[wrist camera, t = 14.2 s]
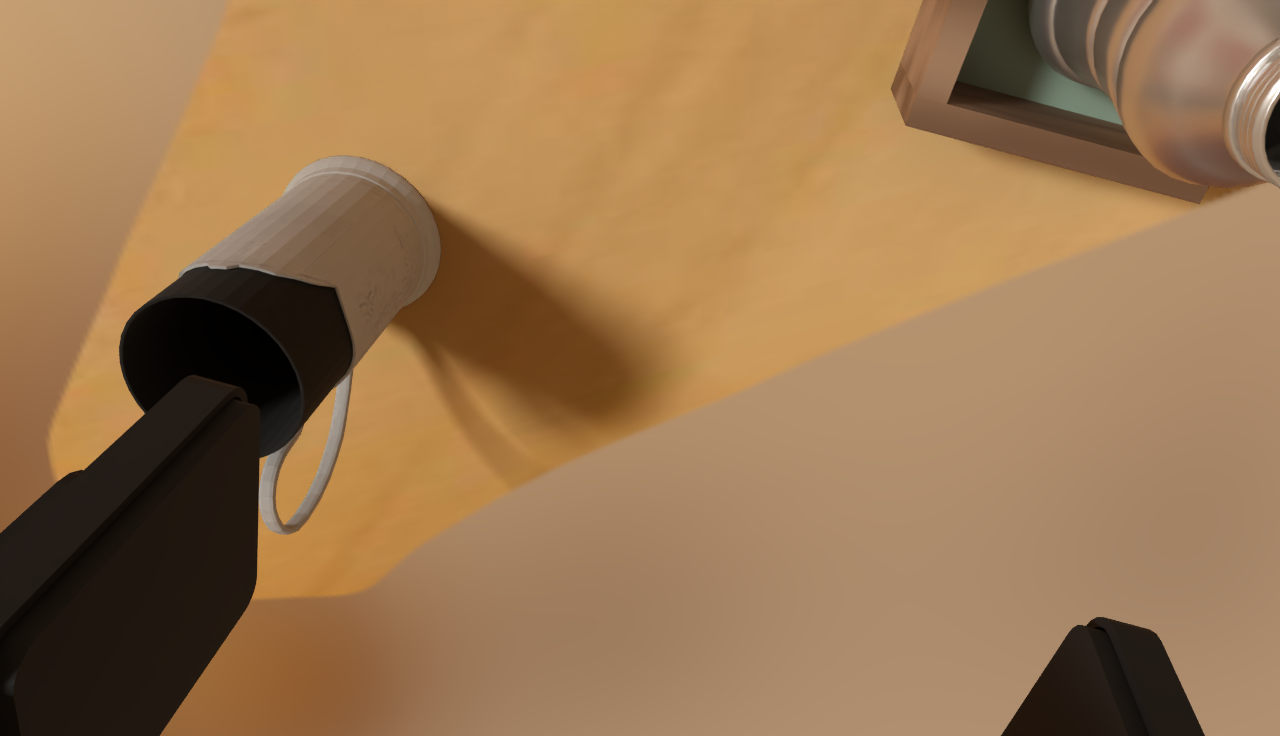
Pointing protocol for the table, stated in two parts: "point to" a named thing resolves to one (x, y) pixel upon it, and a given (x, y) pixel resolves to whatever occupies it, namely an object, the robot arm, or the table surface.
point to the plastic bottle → (1178, 78)
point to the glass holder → (291, 307)
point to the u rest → (1014, 96)
